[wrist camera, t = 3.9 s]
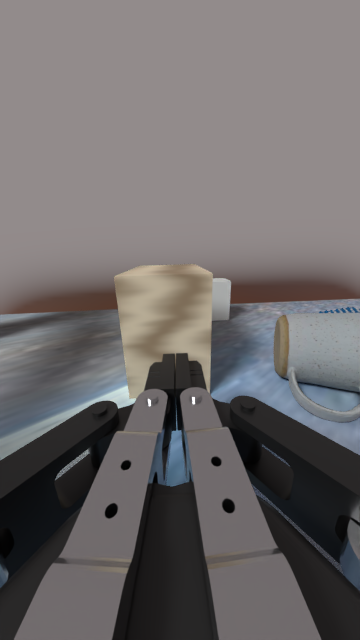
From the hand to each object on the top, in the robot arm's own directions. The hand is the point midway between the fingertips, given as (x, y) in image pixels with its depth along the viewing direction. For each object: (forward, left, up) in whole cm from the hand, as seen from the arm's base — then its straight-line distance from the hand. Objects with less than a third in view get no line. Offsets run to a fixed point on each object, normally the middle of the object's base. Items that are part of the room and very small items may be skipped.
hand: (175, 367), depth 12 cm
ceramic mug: (+15, +7, -7) cm, 18 cm away
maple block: (-1, +13, -7) cm, 15 cm away
